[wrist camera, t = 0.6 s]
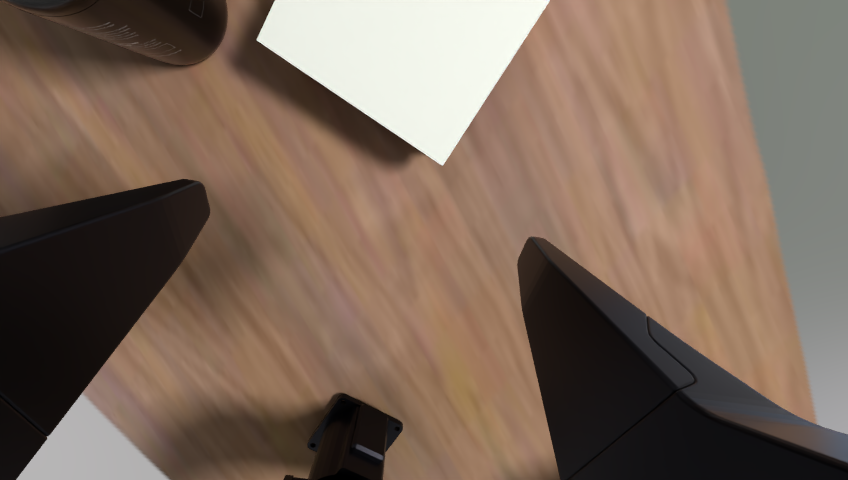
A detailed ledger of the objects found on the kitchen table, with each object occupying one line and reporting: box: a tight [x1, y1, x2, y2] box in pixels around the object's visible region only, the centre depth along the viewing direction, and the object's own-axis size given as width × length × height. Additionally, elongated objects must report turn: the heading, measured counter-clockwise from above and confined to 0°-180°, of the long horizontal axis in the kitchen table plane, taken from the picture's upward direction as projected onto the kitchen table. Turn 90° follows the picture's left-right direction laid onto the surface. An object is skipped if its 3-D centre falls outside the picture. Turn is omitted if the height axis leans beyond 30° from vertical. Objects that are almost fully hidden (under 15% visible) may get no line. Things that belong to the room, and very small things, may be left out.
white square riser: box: [257, 0, 550, 166], centre depth 19 cm, size 12×12×4 cm
